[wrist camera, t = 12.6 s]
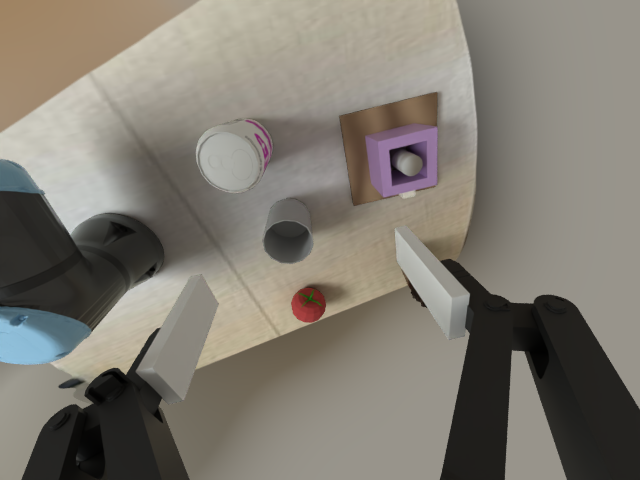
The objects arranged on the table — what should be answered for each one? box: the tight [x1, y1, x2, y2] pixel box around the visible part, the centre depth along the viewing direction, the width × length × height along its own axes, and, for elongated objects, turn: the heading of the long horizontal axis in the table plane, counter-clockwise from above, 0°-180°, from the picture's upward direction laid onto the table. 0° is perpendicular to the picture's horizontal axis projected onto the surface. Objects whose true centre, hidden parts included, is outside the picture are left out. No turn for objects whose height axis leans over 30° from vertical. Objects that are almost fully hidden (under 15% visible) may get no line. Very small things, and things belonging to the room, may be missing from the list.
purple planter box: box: [365, 123, 437, 199], centre depth 40 cm, size 10×8×8 cm
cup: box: [263, 198, 313, 264], centre depth 45 cm, size 8×8×10 cm
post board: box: [339, 92, 437, 206], centre depth 40 cm, size 16×16×10 cm
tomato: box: [291, 288, 326, 323], centre depth 56 cm, size 8×8×8 cm
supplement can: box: [196, 118, 273, 193], centre depth 36 cm, size 8×8×15 cm
